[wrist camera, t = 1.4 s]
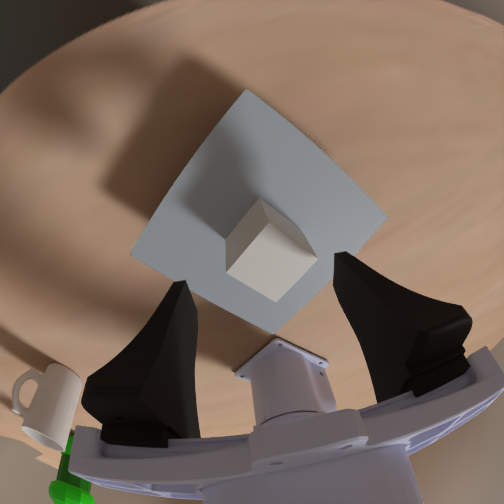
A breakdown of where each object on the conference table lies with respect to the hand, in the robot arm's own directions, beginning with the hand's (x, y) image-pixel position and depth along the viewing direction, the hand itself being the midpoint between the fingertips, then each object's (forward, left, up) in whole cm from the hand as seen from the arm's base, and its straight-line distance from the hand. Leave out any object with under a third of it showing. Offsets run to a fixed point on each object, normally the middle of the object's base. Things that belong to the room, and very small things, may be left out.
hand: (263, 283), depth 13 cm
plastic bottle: (-1, +65, -11) cm, 65 cm away
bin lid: (-1, 0, -6) cm, 6 cm away
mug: (+9, +36, -11) cm, 38 cm away
